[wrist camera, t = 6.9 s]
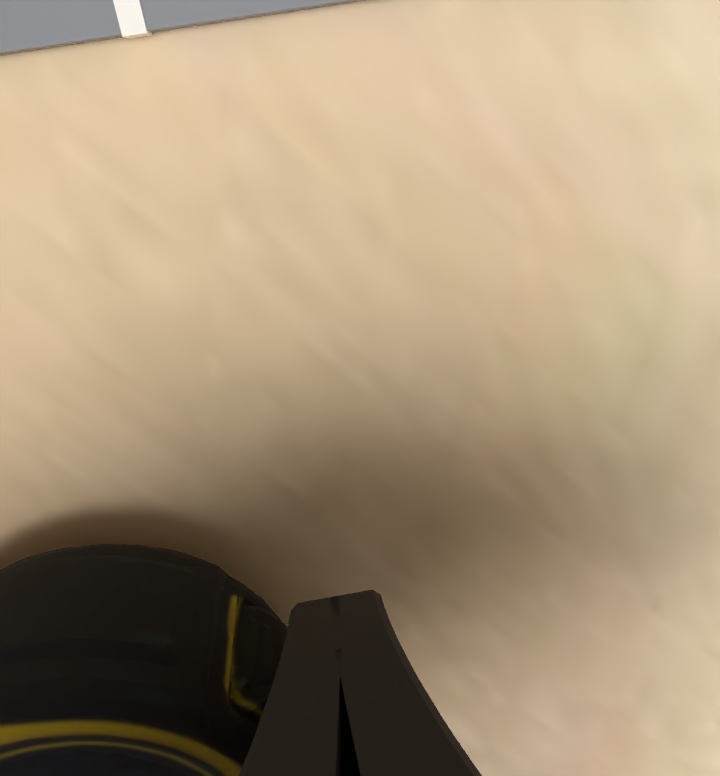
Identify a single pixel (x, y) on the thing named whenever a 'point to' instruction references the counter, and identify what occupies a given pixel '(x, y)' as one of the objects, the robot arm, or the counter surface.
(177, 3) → the scale strip
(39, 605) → the tape measure
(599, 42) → the counter surface
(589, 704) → the counter surface
